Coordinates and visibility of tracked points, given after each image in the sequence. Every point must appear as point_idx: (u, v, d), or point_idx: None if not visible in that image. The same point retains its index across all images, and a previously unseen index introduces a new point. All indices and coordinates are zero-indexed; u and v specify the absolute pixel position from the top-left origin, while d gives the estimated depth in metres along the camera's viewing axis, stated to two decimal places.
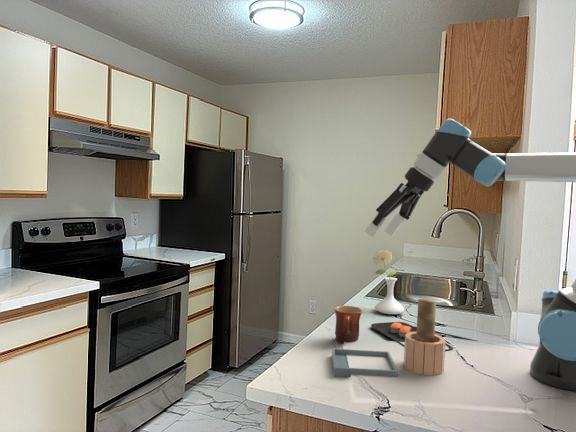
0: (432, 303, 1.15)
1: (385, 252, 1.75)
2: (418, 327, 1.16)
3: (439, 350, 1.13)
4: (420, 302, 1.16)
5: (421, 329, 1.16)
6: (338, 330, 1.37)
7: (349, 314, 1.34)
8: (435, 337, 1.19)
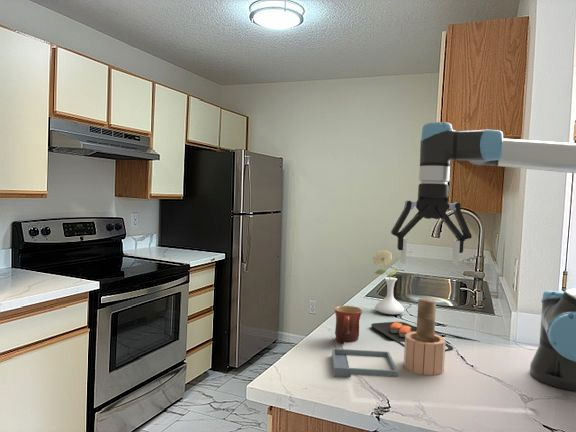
0: (432, 303, 1.15)
1: (385, 252, 1.75)
2: (418, 327, 1.16)
3: (439, 350, 1.13)
4: (420, 302, 1.16)
5: (421, 329, 1.16)
6: (338, 330, 1.37)
7: (349, 314, 1.34)
8: (435, 337, 1.19)
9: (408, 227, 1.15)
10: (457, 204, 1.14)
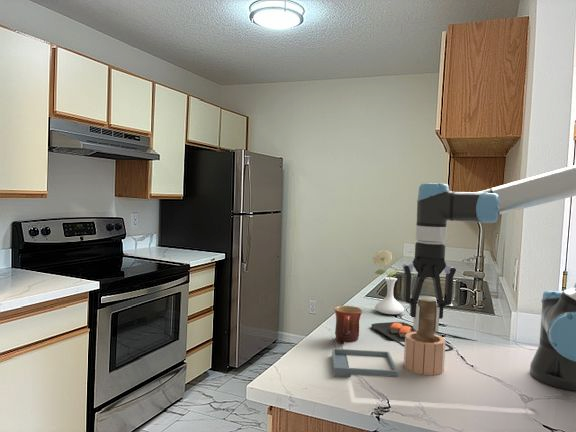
0: (432, 303, 1.15)
1: (385, 252, 1.75)
2: None
3: (439, 350, 1.13)
4: (420, 302, 1.16)
5: (421, 329, 1.16)
6: (338, 330, 1.37)
7: (349, 314, 1.34)
8: (435, 337, 1.19)
9: (416, 293, 1.16)
10: (453, 269, 1.15)
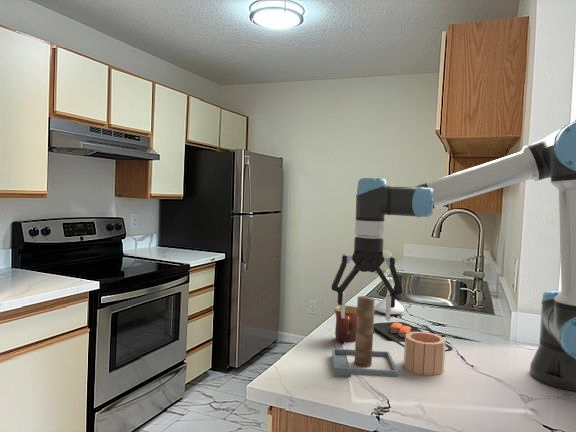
0: (370, 301, 1.16)
1: (385, 252, 1.75)
2: (357, 324, 1.17)
3: (439, 350, 1.13)
4: (359, 300, 1.17)
5: (359, 326, 1.16)
6: (338, 330, 1.37)
7: (349, 314, 1.34)
8: (435, 337, 1.19)
9: (346, 282, 1.16)
10: (391, 259, 1.15)
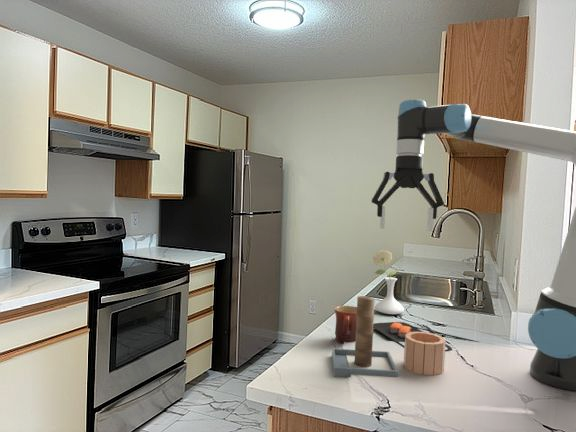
0: (370, 301, 1.16)
1: (385, 252, 1.75)
2: (357, 324, 1.17)
3: (439, 350, 1.13)
4: (358, 300, 1.17)
5: (359, 326, 1.16)
6: (338, 330, 1.37)
7: (349, 314, 1.34)
8: (435, 337, 1.19)
9: (386, 195, 1.27)
10: (431, 174, 1.26)
